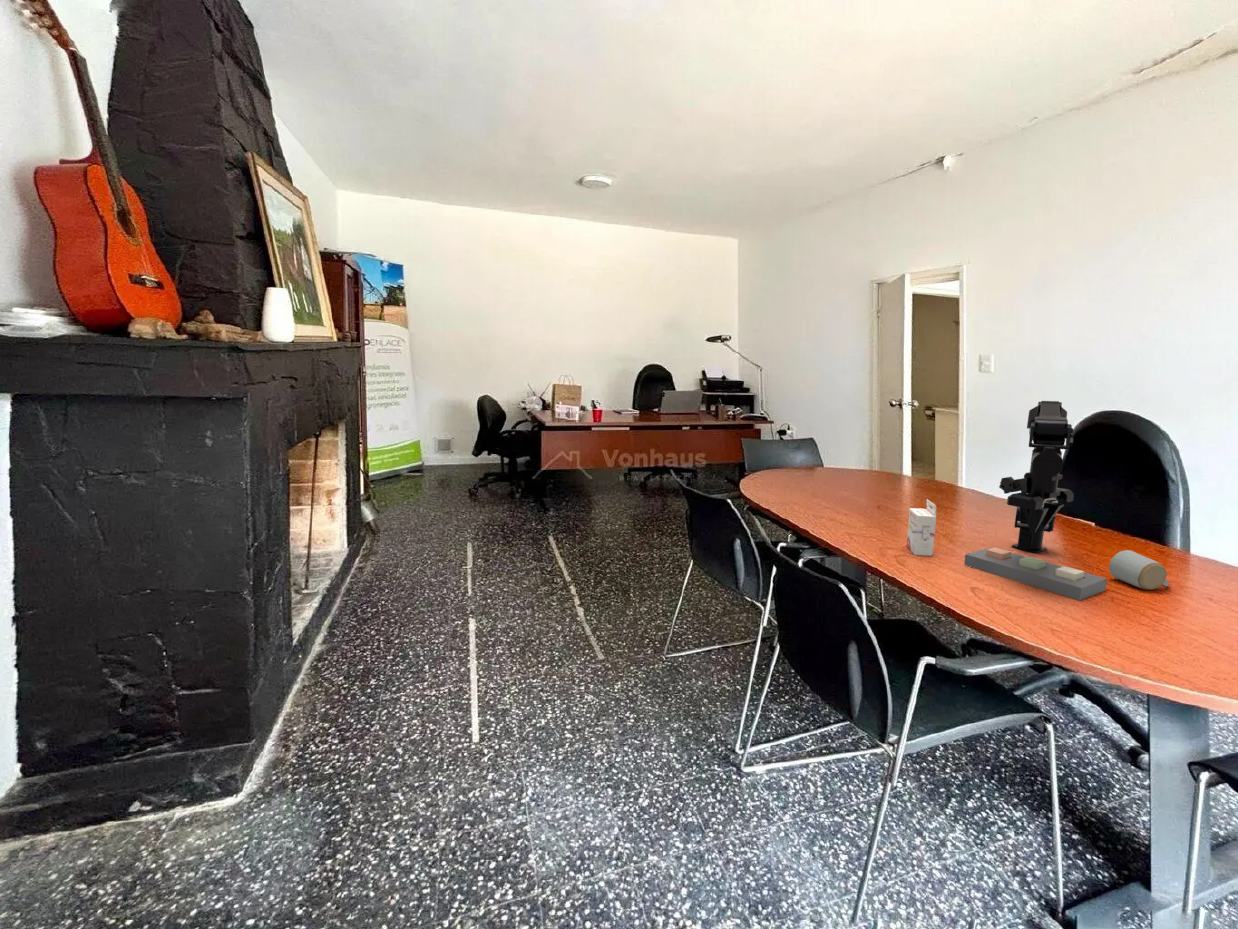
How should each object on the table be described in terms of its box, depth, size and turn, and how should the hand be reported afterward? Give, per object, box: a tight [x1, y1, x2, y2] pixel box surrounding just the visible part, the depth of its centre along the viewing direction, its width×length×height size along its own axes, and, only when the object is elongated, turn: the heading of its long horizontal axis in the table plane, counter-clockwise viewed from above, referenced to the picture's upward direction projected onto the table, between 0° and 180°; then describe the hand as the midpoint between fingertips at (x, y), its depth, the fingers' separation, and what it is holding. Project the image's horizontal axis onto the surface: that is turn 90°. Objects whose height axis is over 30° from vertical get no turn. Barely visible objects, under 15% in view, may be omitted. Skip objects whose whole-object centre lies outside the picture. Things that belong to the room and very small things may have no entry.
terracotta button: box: [986, 547, 1012, 560], centre depth 146 cm, size 4×4×2 cm
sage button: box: [1019, 556, 1047, 570], centre depth 139 cm, size 4×4×2 cm
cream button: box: [1055, 565, 1085, 581], centre depth 132 cm, size 4×4×2 cm
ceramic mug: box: [1108, 549, 1171, 591], centre depth 134 cm, size 11×8×8 cm
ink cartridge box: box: [906, 498, 937, 557], centre depth 158 cm, size 9×5×15 cm, turn 168°
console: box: [963, 547, 1108, 601], centre depth 139 cm, size 12×26×3 cm, turn 27°
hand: (1036, 531), depth 137 cm, fingers open, 3 cm apart
